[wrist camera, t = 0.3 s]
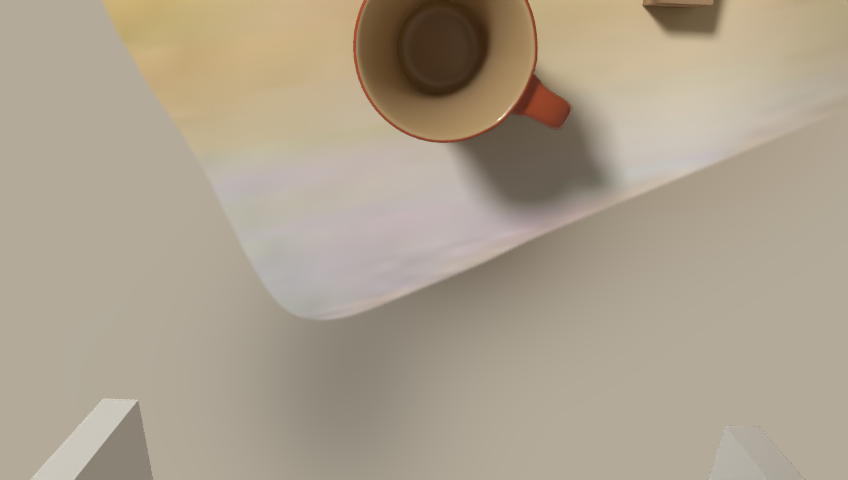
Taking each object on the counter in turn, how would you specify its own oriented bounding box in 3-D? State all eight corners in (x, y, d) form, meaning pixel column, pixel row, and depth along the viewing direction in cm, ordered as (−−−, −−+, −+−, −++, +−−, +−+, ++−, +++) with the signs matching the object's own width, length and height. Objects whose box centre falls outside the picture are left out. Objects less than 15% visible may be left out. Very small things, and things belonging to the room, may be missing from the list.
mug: (351, 77, 35) (323, 90, 25) (411, -54, 32) (405, -95, 22) (504, 159, 37) (532, 201, 27) (573, 43, 34) (631, 44, 24)
